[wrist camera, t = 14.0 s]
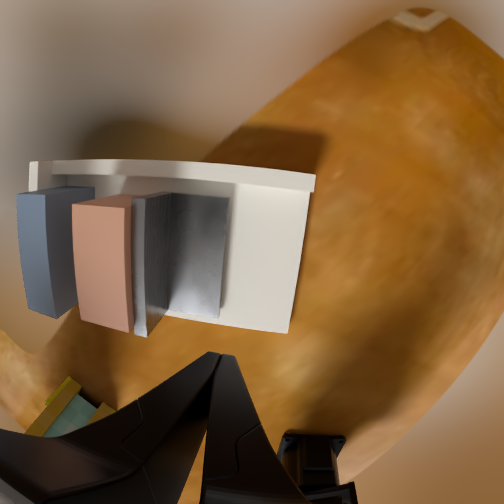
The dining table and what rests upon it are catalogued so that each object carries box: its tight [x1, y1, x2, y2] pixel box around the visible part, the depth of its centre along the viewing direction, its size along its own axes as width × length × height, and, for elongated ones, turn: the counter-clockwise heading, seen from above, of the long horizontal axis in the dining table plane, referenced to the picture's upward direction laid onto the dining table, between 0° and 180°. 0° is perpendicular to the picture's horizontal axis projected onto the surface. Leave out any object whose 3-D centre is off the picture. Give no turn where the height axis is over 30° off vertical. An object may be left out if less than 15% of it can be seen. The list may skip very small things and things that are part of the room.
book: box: [24, 376, 116, 437], centre depth 16 cm, size 17×7×25 cm, turn 145°
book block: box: [72, 194, 139, 333], centre depth 17 cm, size 7×4×6 cm, turn 174°
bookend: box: [131, 191, 230, 337], centre depth 17 cm, size 8×4×4 cm, turn 174°
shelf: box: [17, 159, 316, 334], centre depth 17 cm, size 11×19×6 cm, turn 84°
